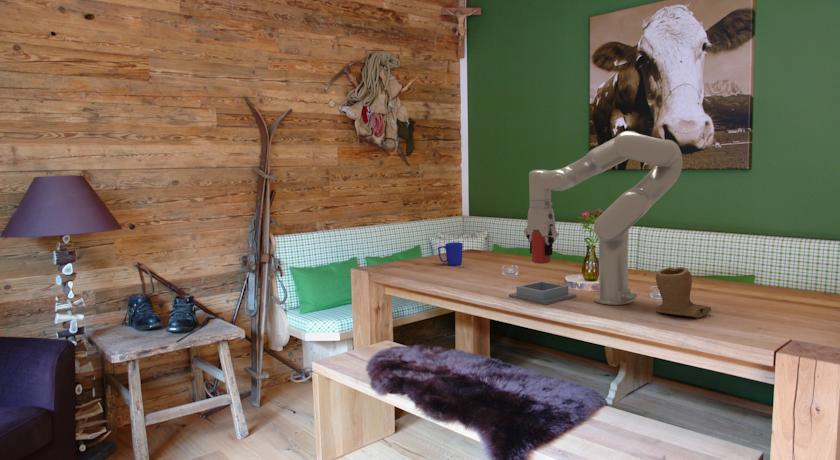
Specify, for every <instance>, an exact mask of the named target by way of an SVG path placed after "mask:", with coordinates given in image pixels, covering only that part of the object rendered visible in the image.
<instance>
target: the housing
mask: <svg viewBox="0 0 840 460" xmlns="http://www.w3.org/2000/svg"><path fill="white" fill-rule="evenodd" d="M515 288H516V292H512V293H509V294H508V297H509V298H512V299H517V300H521V301H525V302H531V303H533V304H534V303H535V304H539V305H543V306H547V305H551V304H555V303H559V302H563V301H567V300H570V299H574V298H577V294H576V293H570V292H569V285H565V284H560V283H554V282H550V281H549V282H548V281H543V280H540V281H534V282H530V283H526V284H523V285H522V284H521V285H518V286H516V287H515Z"/></svg>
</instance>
